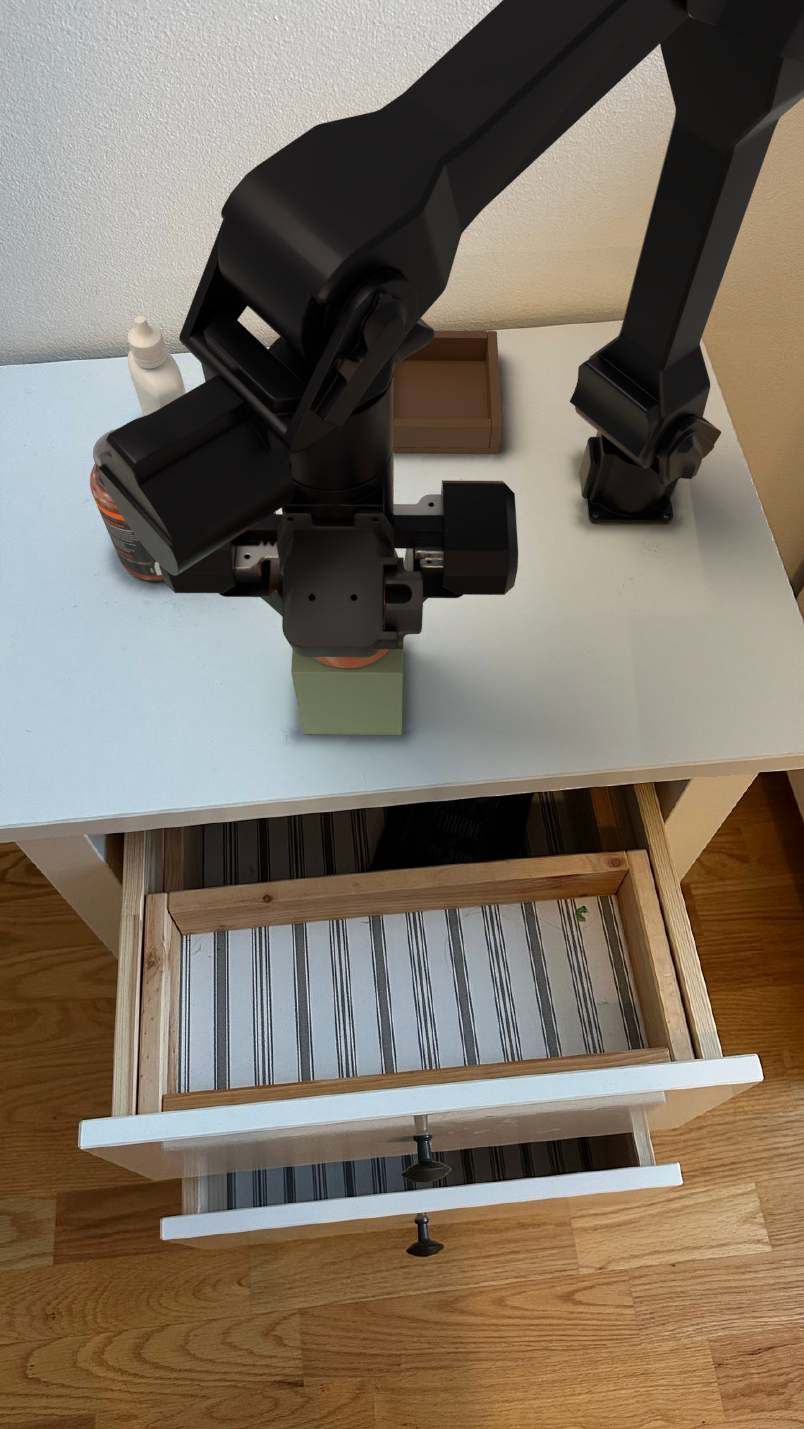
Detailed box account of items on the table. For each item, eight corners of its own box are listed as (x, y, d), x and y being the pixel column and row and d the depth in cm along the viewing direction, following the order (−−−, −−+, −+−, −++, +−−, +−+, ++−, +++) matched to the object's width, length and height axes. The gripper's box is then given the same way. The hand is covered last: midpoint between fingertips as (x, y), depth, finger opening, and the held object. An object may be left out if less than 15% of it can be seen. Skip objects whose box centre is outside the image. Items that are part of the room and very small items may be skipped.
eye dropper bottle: (204, 411, 80) (174, 291, 69) (199, 465, 78) (168, 349, 67) (150, 412, 80) (112, 291, 69) (144, 466, 78) (103, 349, 67)
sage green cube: (402, 649, 71) (403, 579, 62) (401, 735, 68) (402, 673, 60) (307, 648, 71) (296, 579, 62) (303, 734, 68) (290, 672, 59)
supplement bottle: (194, 585, 73) (162, 487, 63) (114, 583, 73) (69, 485, 63) (202, 520, 75) (173, 416, 65) (125, 518, 75) (84, 414, 65)
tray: (493, 359, 83) (497, 330, 80) (498, 453, 78) (502, 426, 76) (373, 358, 83) (372, 329, 80) (371, 452, 78) (370, 425, 76)
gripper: (112, 585, 42) (182, 735, 57) (541, 588, 43) (504, 737, 57) (142, 392, 47) (199, 574, 61) (527, 394, 47) (496, 575, 62)
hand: (347, 616), depth 60 cm, fingers closed on cup, 6 cm apart
